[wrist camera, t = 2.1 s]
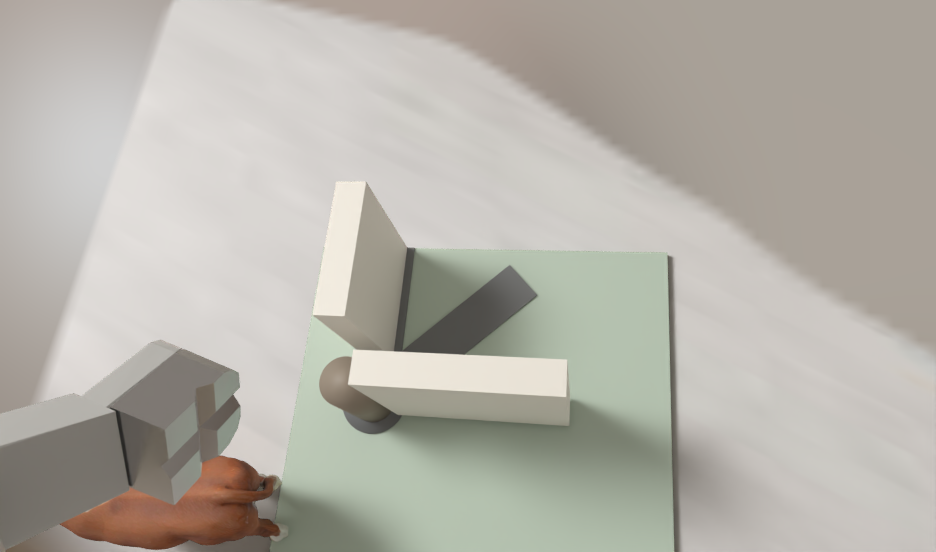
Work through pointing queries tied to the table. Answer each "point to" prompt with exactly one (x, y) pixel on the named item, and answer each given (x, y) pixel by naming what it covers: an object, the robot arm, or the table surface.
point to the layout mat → (492, 442)
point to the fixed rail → (359, 290)
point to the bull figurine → (186, 511)
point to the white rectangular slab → (465, 386)
